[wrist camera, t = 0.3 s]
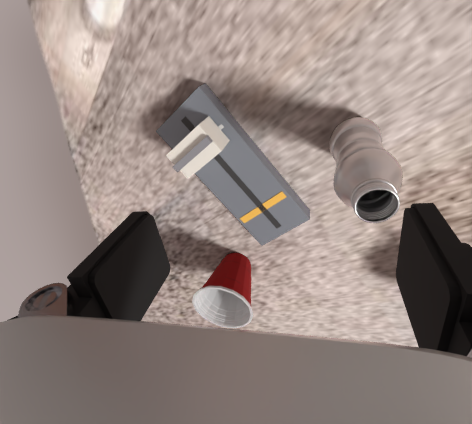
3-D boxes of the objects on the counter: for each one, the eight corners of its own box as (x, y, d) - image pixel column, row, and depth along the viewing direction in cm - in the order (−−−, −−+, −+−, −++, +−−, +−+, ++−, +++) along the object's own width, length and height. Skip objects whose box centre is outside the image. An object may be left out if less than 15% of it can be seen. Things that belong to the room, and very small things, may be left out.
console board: (164, 126, 48) (155, 131, 46) (205, 83, 43) (198, 86, 41) (264, 236, 55) (261, 246, 52) (309, 209, 50) (309, 219, 47)
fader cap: (178, 145, 46) (163, 157, 41) (209, 116, 42) (196, 126, 38) (198, 167, 47) (186, 181, 42) (229, 140, 43) (220, 153, 39)
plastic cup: (204, 269, 63) (183, 314, 53) (221, 234, 57) (201, 277, 47) (250, 291, 63) (238, 339, 53) (272, 258, 57) (263, 306, 47)
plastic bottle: (385, 143, 42) (432, 219, 25) (340, 165, 45) (354, 245, 28) (367, 103, 40) (403, 157, 23) (320, 129, 43) (323, 193, 26)
